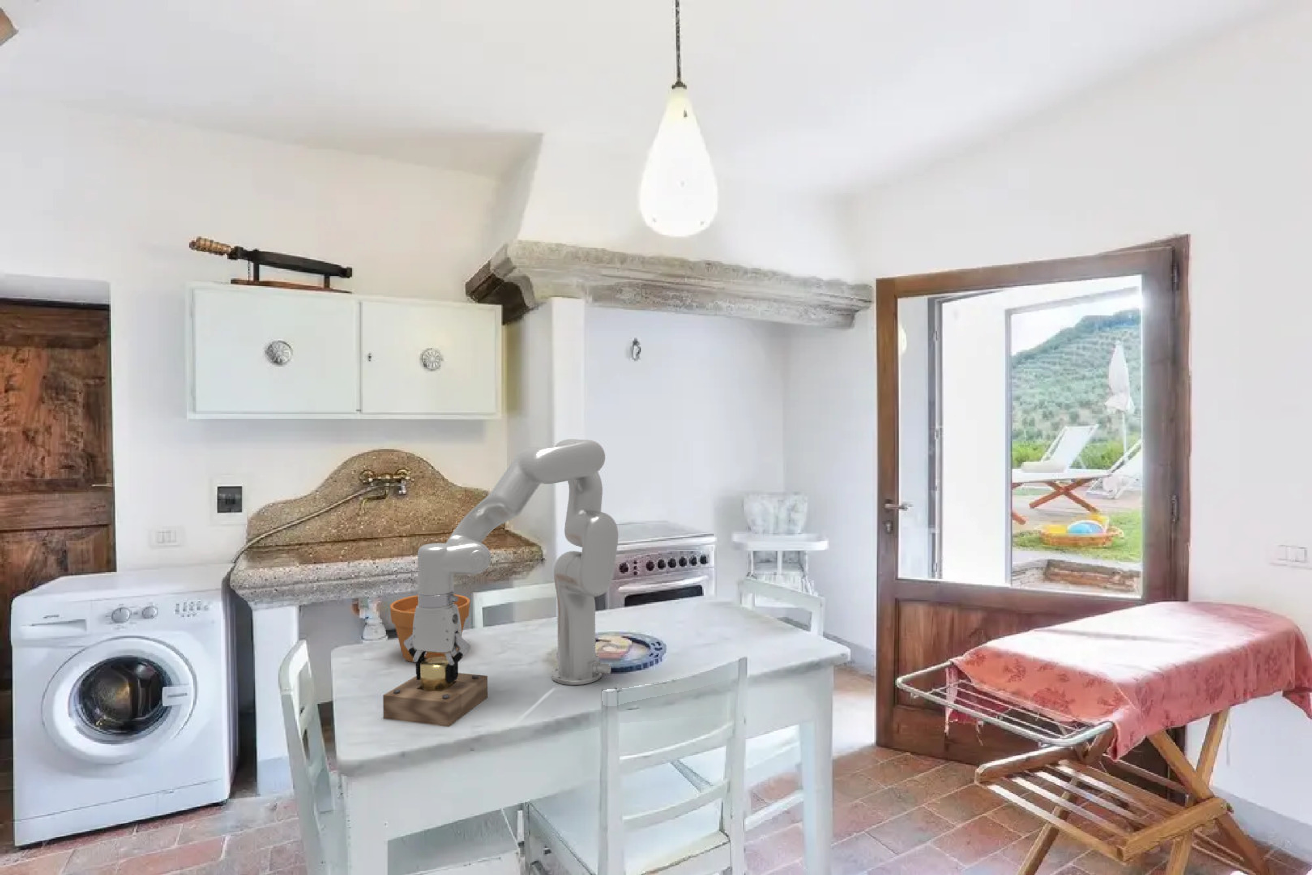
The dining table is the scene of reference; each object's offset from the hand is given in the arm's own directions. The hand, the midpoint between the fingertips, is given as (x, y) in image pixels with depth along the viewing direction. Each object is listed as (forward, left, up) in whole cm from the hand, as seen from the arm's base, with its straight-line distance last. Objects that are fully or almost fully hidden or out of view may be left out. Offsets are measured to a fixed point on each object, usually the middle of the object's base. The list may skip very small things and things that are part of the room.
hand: (436, 678), depth 154 cm
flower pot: (+24, -34, -8) cm, 42 cm away
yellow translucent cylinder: (0, 0, -6) cm, 6 cm away
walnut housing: (0, 0, -7) cm, 7 cm away
